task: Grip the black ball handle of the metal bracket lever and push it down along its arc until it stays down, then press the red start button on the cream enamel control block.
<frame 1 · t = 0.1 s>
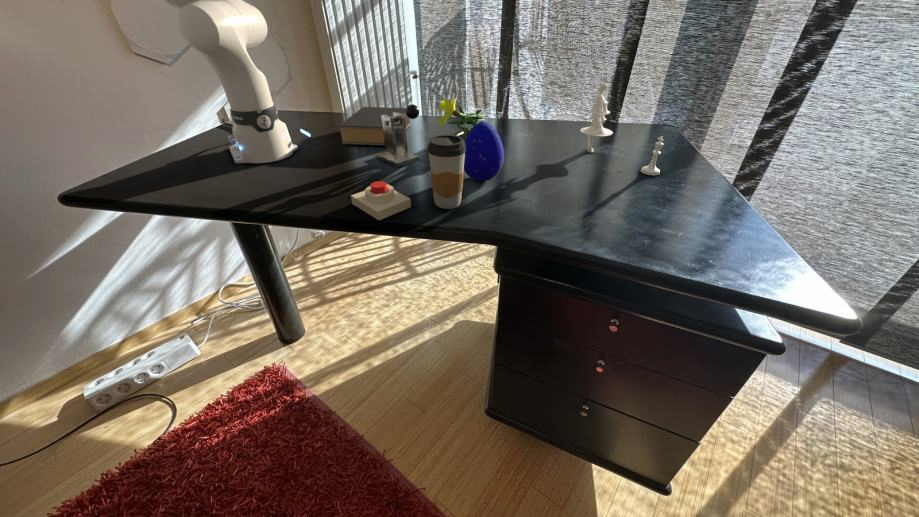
daffodil flowers: (466, 143, 121), on the table
lever: (403, 116, 98), point 13 cm above the table, hinge at 25.0°
figurine: (592, 151, 115), on the table
button: (379, 187, 82), point 4 cm above the table, slide at 0.1 cm
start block: (381, 205, 84), on the table
chess piece: (649, 172, 101), on the table
coffee cup: (447, 203, 85), on the table
metal bracket: (397, 158, 109), on the table
ornament: (480, 179, 97), on the table
book: (378, 136, 127), on the table
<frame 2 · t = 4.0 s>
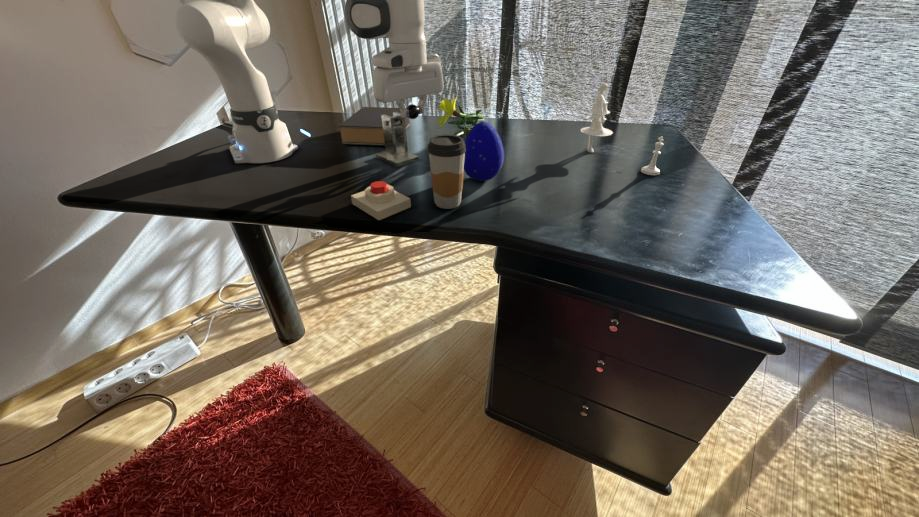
hand: (412, 115, 95), 14 cm above the table, tool pointing down, fingers closed on lever, 3 cm apart
lever: (403, 116, 98), point 13 cm above the table, hinge at 25.0°, touching gripper
everything else where it was.
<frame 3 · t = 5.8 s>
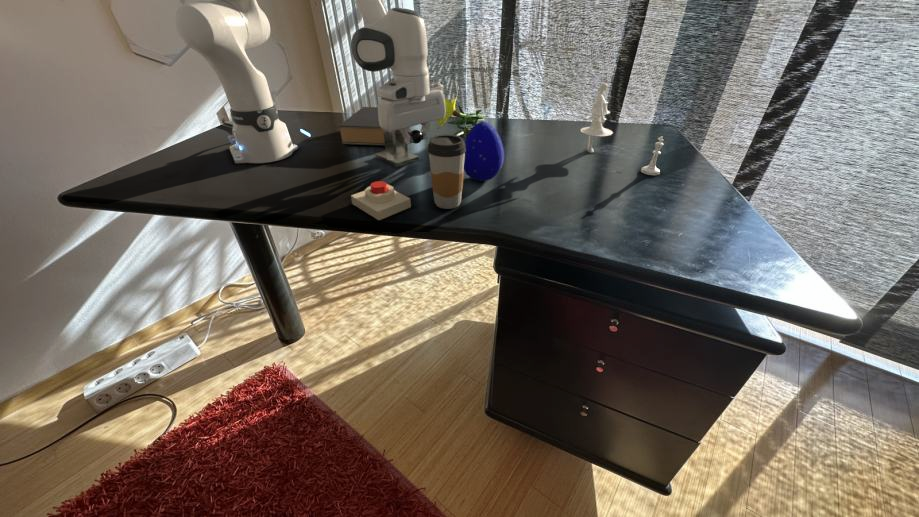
hand: (416, 141, 99), 8 cm above the table, tool pointing down, fingers closed on lever, 3 cm apart
lever: (404, 129, 100), point 10 cm above the table, hinge at -12.5°, touching gripper
everything else where it was.
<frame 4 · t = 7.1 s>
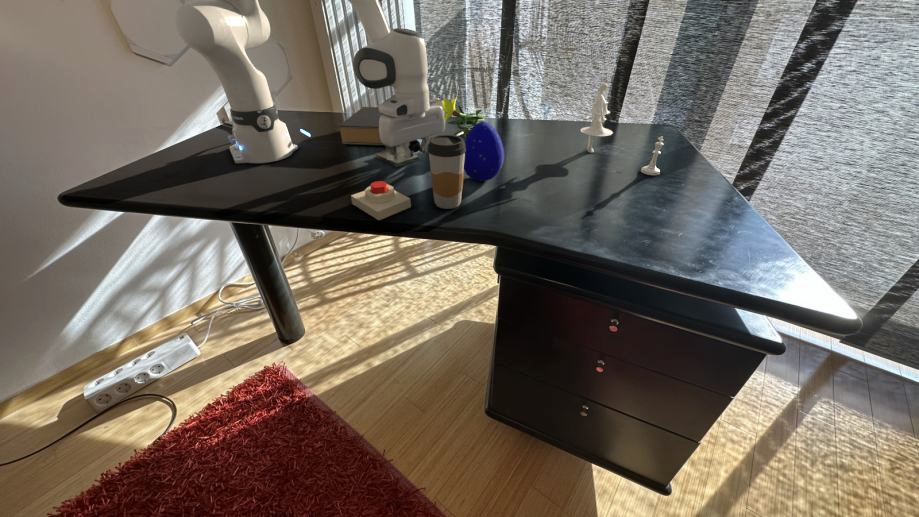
hand: (416, 154, 101), 4 cm above the table, tool pointing down, fingers closed on lever, 3 cm apart
lever: (404, 134, 101), point 8 cm above the table, hinge at -29.8°, touching gripper
everything else where it was.
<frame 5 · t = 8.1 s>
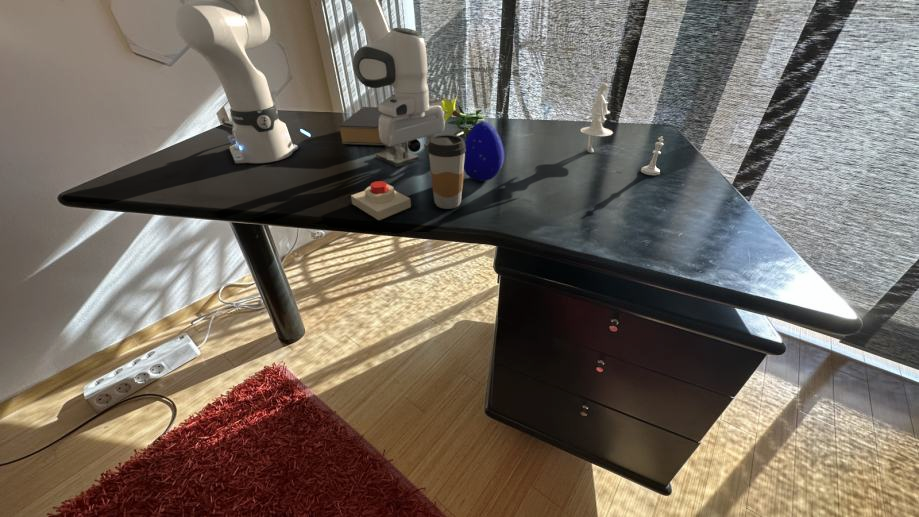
hand: (415, 154, 101), 4 cm above the table, tool pointing down, fingers open, 8 cm apart
lever: (404, 133, 101), point 9 cm above the table, hinge at -28.5°
everything else where it was.
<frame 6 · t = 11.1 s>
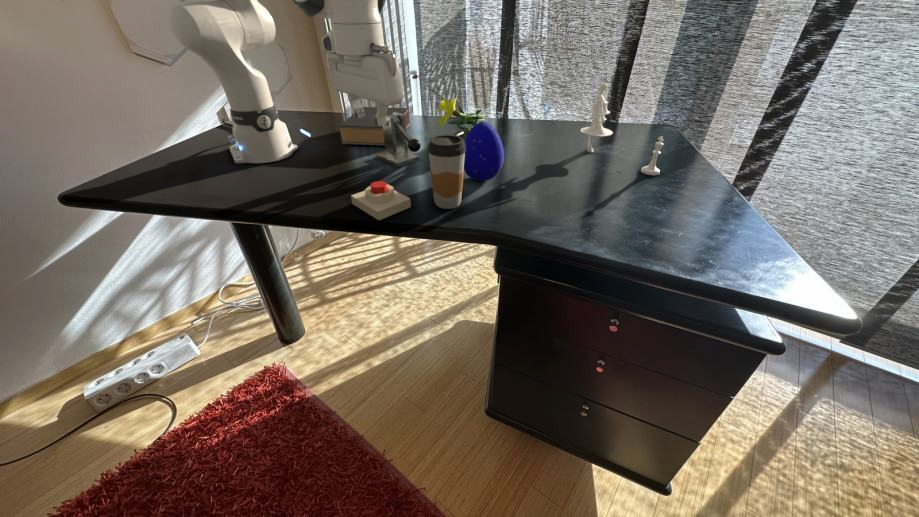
hand: (370, 121, 73), 19 cm above the table, tool pointing down, fingers open, 6 cm apart
nothing on the table moved.
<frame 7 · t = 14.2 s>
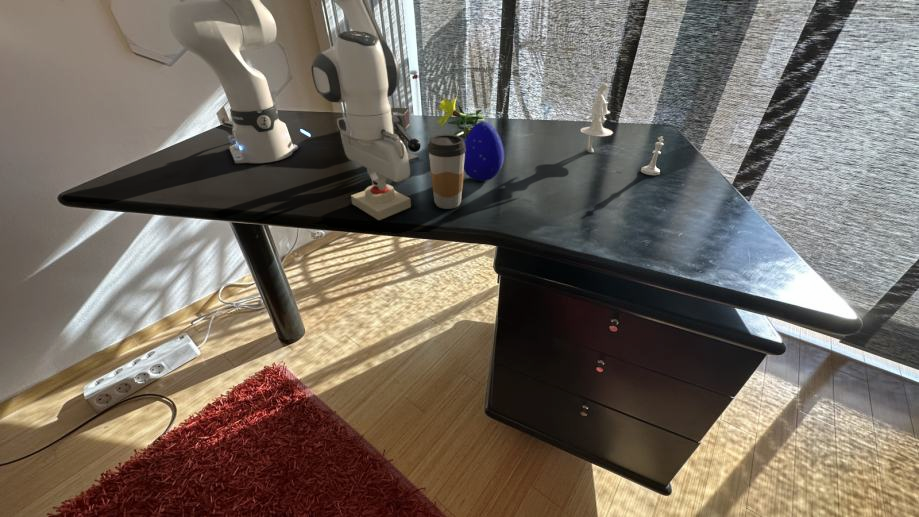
hand: (379, 187, 82), 4 cm above the table, tool pointing down, fingers closed, pressing on button
button: (379, 191, 82), point 4 cm above the table, slide at -0.8 cm, touching gripper
everything else where it was.
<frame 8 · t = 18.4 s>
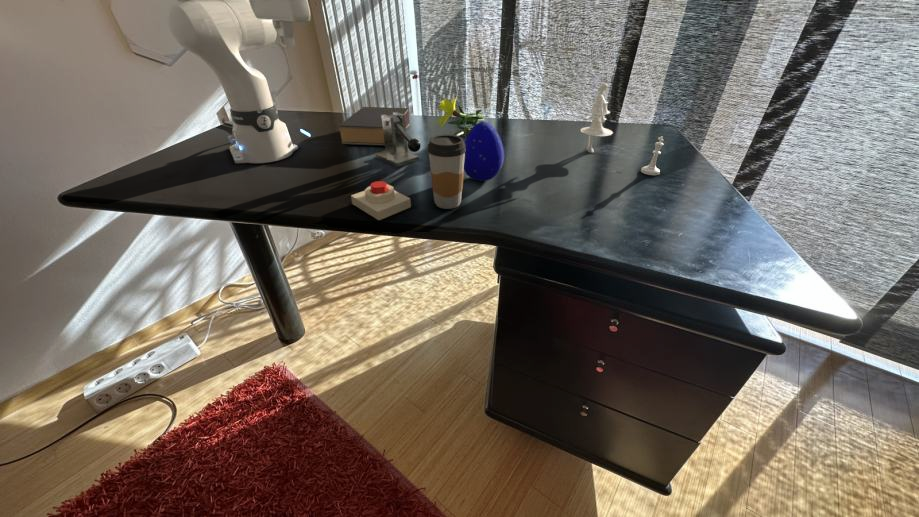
hand: (288, 46, 76), 31 cm above the table, tool pointing down, fingers closed
button: (379, 187, 82), point 4 cm above the table, slide at 0.1 cm
everything else where it was.
at the end: lever at -28° (first picture: +25°); button pushed in 1.0 cm at the most during the clip, back to where it started at the end; button slide at 0.1 cm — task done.
